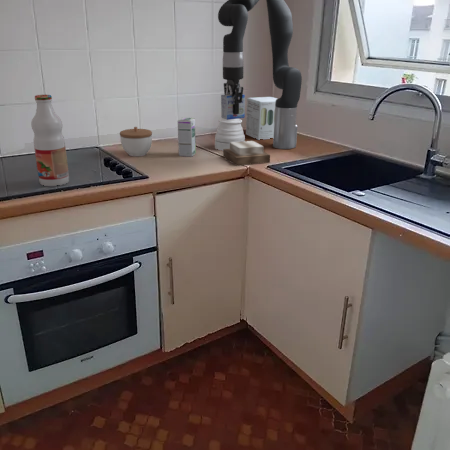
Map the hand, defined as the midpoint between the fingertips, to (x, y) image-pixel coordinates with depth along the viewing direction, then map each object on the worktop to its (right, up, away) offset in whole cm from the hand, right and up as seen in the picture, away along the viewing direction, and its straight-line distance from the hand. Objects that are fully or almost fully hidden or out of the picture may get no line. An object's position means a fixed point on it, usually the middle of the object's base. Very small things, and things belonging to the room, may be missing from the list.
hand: (233, 112), depth 175 cm
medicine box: (0, -2, +1) cm, 2 cm away
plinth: (+5, -16, +9) cm, 19 cm away
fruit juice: (-59, -28, -21) cm, 69 cm away
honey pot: (-1, -9, +27) cm, 28 cm away
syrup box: (-18, -14, +14) cm, 27 cm away
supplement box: (+16, 0, +48) cm, 51 cm away
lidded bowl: (-39, -14, +14) cm, 43 cm away
